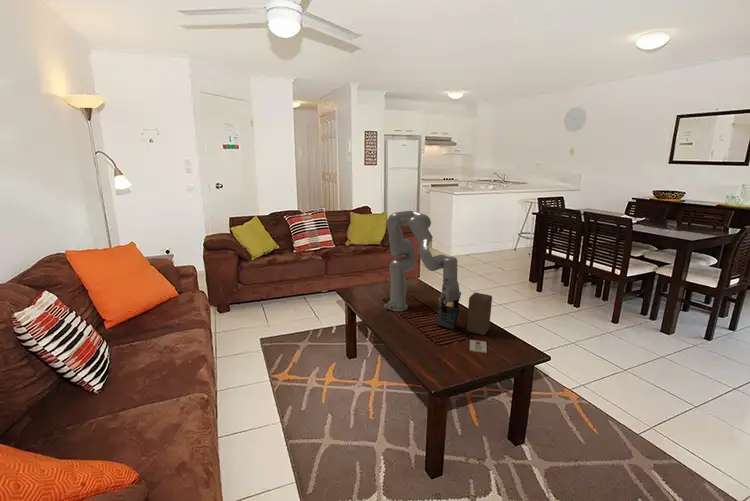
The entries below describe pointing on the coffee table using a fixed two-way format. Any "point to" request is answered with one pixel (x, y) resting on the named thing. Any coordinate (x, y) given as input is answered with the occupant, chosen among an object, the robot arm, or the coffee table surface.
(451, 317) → the small box
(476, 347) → the card
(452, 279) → the robot arm
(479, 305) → the wooden block
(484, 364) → the coffee table surface
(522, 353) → the coffee table surface
